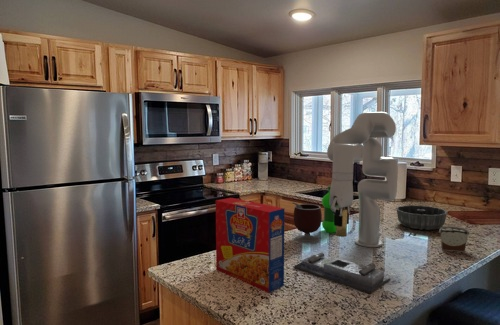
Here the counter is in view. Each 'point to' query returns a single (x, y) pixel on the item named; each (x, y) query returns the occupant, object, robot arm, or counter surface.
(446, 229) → the food container
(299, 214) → the mate gourd
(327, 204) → the plastic bottle
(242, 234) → the pasta box
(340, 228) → the brass pin
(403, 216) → the bundt pan
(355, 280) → the gray slotted panel
